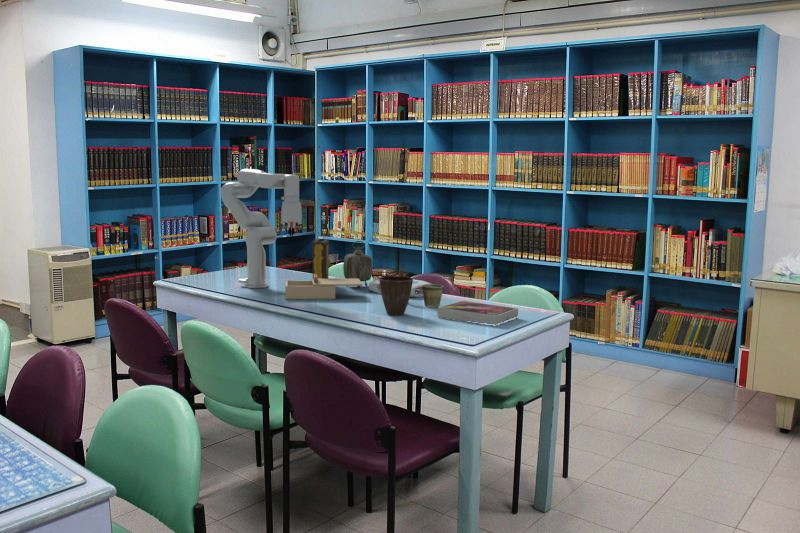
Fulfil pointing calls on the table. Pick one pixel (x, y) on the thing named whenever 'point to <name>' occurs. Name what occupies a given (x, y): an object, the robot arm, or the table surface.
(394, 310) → the plant pot
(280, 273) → the table surface
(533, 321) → the table surface
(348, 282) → the mailer lid
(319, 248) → the book
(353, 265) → the grey rounded piece
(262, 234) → the robot arm
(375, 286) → the document scanner
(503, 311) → the product packaging
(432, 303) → the ceramic cup
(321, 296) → the box
